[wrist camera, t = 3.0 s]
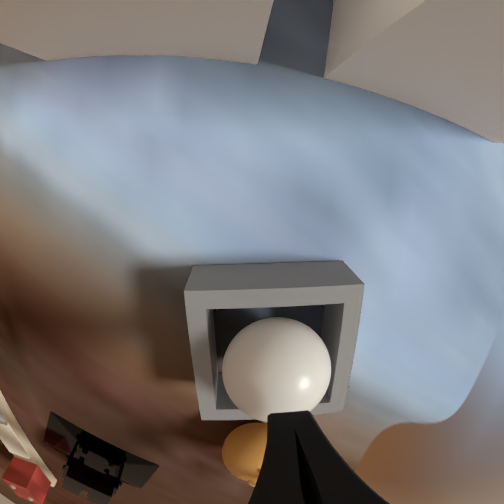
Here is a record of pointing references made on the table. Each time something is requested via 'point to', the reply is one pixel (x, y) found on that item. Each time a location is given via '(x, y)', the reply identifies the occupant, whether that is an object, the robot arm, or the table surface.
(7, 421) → the space track
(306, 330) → the white glossy sphere
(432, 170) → the table surface
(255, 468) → the figurine
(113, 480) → the black piece
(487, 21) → the white brackets
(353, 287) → the housing
